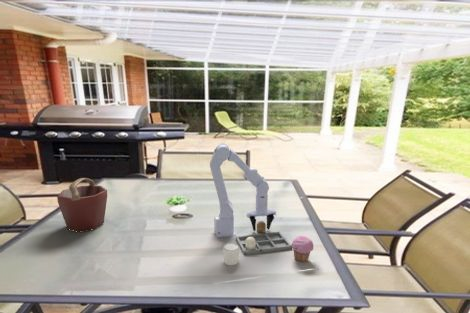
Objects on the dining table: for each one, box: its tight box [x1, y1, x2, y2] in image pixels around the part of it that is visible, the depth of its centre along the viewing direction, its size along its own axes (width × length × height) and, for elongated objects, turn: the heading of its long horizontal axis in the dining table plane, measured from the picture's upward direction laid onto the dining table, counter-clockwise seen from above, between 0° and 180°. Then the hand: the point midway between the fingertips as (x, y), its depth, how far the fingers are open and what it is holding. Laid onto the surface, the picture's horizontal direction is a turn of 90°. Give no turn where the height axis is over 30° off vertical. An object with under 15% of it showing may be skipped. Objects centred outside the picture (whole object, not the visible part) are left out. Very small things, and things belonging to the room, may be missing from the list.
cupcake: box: [291, 235, 314, 263], centre depth 128 cm, size 9×9×10 cm
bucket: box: [56, 177, 108, 233], centre depth 160 cm, size 24×22×25 cm
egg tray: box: [235, 231, 293, 256], centre depth 141 cm, size 22×15×2 cm
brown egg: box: [256, 220, 267, 234], centre depth 154 cm, size 4×4×6 cm
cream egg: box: [246, 237, 256, 251], centre depth 136 cm, size 4×4×6 cm
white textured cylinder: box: [222, 242, 240, 266], centre depth 126 cm, size 7×7×7 cm
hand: (261, 229), depth 154 cm, fingers open, 7 cm apart
